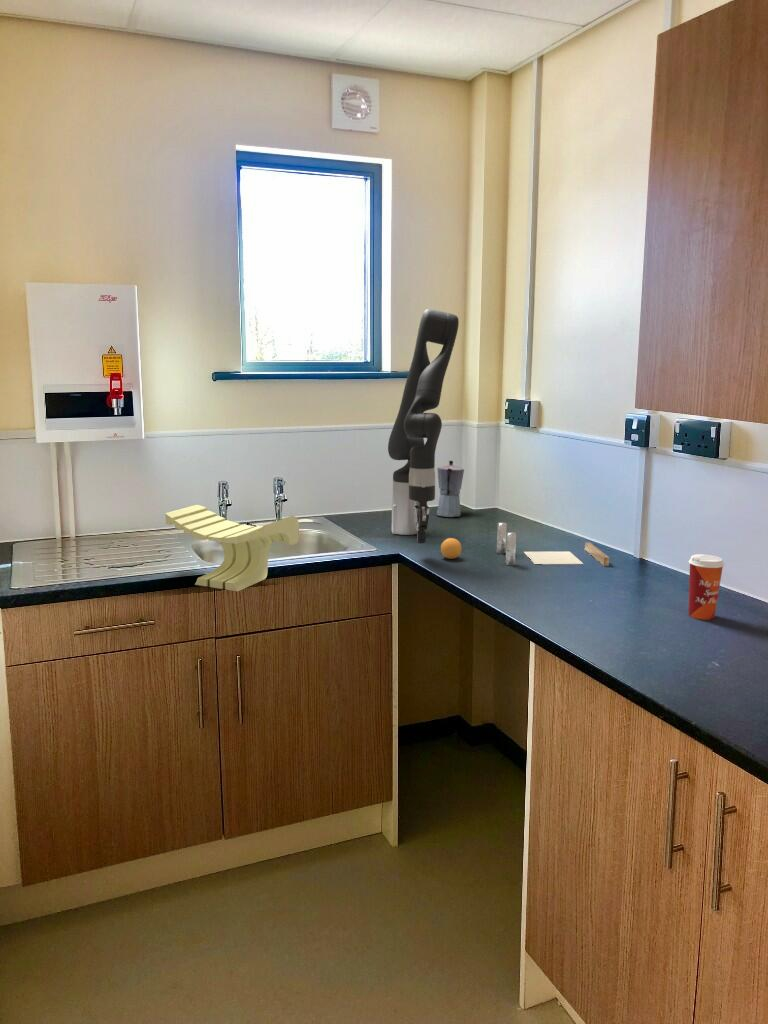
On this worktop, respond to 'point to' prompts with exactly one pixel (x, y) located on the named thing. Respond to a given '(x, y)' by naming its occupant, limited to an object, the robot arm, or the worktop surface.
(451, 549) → the ball
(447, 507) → the moka pot
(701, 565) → the paper cup
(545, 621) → the worktop surface
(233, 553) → the slatted curved stool
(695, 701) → the worktop surface
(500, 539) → the post
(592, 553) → the wooden stick
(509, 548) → the post
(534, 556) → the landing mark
